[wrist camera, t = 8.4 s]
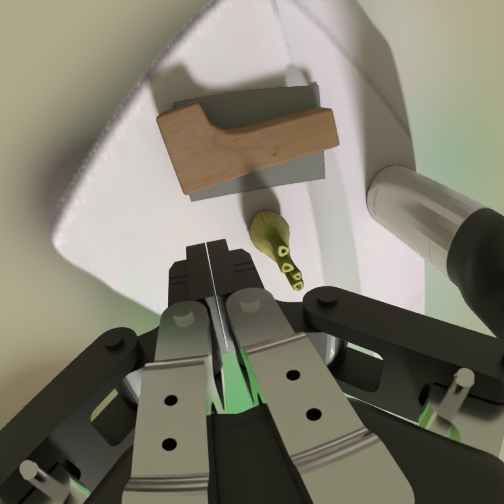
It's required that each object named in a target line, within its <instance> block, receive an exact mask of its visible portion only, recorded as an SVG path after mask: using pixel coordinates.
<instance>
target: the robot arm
mask: <svg viewBox="0 0 504 504" xmlns="http://www.w3.org/2000/svg"><path fill="white" fill-rule="evenodd" d="M367 207H368V210H369V213H370V215H371V217H372V218H373V219H374V220H375V221H376V222H378V223H379V224H380V225H382V226H383V227H384V228H386V229H387V230H388V231H389V232H391V233H392V234H393V235H395V236H396V237H397V238H399V239H400V240H401V241H402V242H404V243H405V244H406V245H408V246H409V247H410V248H411V249H413V250H414V251H415V252H416V253H418V254H419V255H420V256H421V257H423V258H424V259H425V260H426V261H428V262H429V263H430V264H431V265H432V266H434V267H435V268H436V269H437V270H439V271H440V272H441V273H442V274H443V275H445V276H446V277H447V278H448V279H449V280H451V281H452V282H453V283H454V284H455V285H456V286H457V287H458V288H459V290H460V292H461V294H462V296H463V298H464V300H465V302H466V303H467V305H468V306H469V308H470V309H471V310H472V311H473V312H474V313H475V314H476V315H477V316H478V317H479V318H480V320H481V321H482V322H483V323H484V324H485V325H486V326H487V327H488V328H489V329H490V331H491V332H492V333H493V334H494V335H495V336H496V337H497V338H495V337H492V336H489V335H485V334H482V333H479V332H476V331H473V330H469V329H466V328H463V327H460V326H457V325H453V324H450V323H447V322H444V321H441V320H438V319H434V318H431V317H428V316H425V315H422V314H419V313H415V312H412V311H409V310H406V309H403V308H400V307H397V306H393V305H390V304H387V303H384V302H381V301H378V300H375V299H372V298H368V297H365V296H362V295H359V294H356V293H353V292H350V291H347V290H344V289H340V288H337V287H332V286H322V287H317V288H314V289H312V290H310V291H308V292H307V293H306V294H305V295H304V297H303V302H282V301H278V300H276V299H274V297H273V295H272V294H271V293H270V292H269V291H267V290H265V288H264V286H263V284H262V281H261V279H260V277H259V274H258V272H257V270H256V267H255V265H254V263H253V260H252V258H251V256H250V254H249V253H248V252H246V251H245V250H243V249H237V250H232V251H229V249H228V246H227V243H226V240H225V239H221V240H216V241H211V242H206V243H207V248H208V254H209V259H210V265H211V270H212V275H213V280H212V275H211V270H210V265H209V261H208V256H207V251H206V246H205V243H202V244H197V245H192V246H187V247H186V258H187V260H182V261H177V262H174V264H173V265H172V267H171V268H170V269H169V287H168V308H167V309H166V310H165V311H164V312H163V313H162V315H161V318H160V324H159V326H158V327H157V328H155V329H153V330H151V331H149V332H147V333H145V334H142V335H140V336H137V335H136V333H135V332H134V331H133V330H132V329H130V328H126V327H119V328H114V329H111V330H108V331H106V332H105V333H103V334H102V335H101V336H99V337H98V338H97V339H96V340H95V341H94V342H93V343H92V344H91V345H89V346H88V347H87V348H86V349H85V350H84V351H83V352H82V353H81V354H80V355H79V356H78V357H76V358H75V359H74V360H73V361H72V362H71V363H70V364H69V365H68V366H67V367H66V368H65V369H64V370H62V372H60V374H58V375H57V376H56V377H55V378H54V379H53V380H52V381H51V382H50V383H49V384H48V385H47V386H46V387H45V388H43V389H42V391H40V392H39V393H38V394H37V395H36V396H35V397H34V398H33V399H32V400H31V401H30V402H29V403H28V404H27V405H26V406H25V407H24V408H23V409H22V410H21V411H20V412H19V413H18V414H17V415H16V416H15V417H14V418H13V419H12V420H11V421H10V422H9V423H8V424H7V425H6V426H5V427H4V428H3V429H2V430H1V431H0V504H504V463H503V461H501V460H500V459H499V458H498V455H499V452H500V449H501V445H502V441H503V437H504V216H503V215H501V214H499V213H498V212H496V211H494V210H492V209H490V208H489V207H487V206H485V205H483V204H481V203H479V202H477V201H475V200H473V199H471V198H469V197H467V196H465V195H463V194H461V193H459V192H457V191H455V190H453V189H451V188H449V187H447V186H445V185H443V184H441V183H439V182H437V181H434V180H432V179H430V178H428V177H425V176H423V175H421V174H419V173H417V172H415V171H412V170H410V169H408V168H405V167H403V166H399V165H393V166H389V167H386V168H385V169H383V170H382V171H380V172H379V173H378V174H377V175H376V176H375V178H374V179H373V181H372V183H371V185H370V187H369V190H368V194H367ZM213 281H214V284H213ZM214 286H215V289H214ZM215 291H216V294H215ZM216 296H217V299H216ZM217 300H218V304H217ZM218 305H219V309H220V314H221V318H222V323H223V327H224V332H225V336H226V340H227V344H228V349H229V352H234V351H235V352H236V356H237V360H238V364H239V369H240V372H241V375H242V378H243V381H244V383H245V386H246V389H247V392H248V394H249V397H250V399H251V403H252V405H253V408H251V409H249V410H246V411H244V412H242V413H238V414H227V405H226V396H225V384H224V374H223V370H222V365H223V362H222V357H221V354H224V353H227V349H226V344H225V339H224V334H223V329H222V325H221V320H220V315H219V310H218ZM348 342H350V343H352V344H355V345H358V346H360V347H363V348H365V349H368V350H371V351H373V352H376V353H377V354H379V355H380V356H381V357H382V358H383V360H381V359H378V358H376V357H373V356H370V355H368V354H365V353H362V352H360V351H357V350H355V349H352V348H349V347H347V345H348ZM114 388H115V389H116V391H117V392H118V395H117V396H116V397H115V398H114V399H113V400H112V401H111V402H110V403H109V404H108V405H107V406H106V407H105V409H104V410H103V411H102V412H101V413H100V414H99V415H98V416H97V417H96V418H95V419H94V420H93V421H92V422H91V415H92V412H93V411H94V410H95V408H96V407H97V406H98V405H99V404H100V403H101V402H102V401H103V400H104V399H105V398H106V397H107V396H108V395H109V394H110V393H111V391H113V389H114ZM343 392H344V393H346V394H348V395H351V396H353V397H356V398H358V399H360V400H362V401H360V400H356V399H353V398H349V397H346V396H345V395H344V393H343ZM363 401H365V402H367V403H370V404H372V405H374V406H377V407H379V408H381V409H384V410H386V411H389V412H391V413H394V414H396V415H399V416H401V417H404V418H407V419H409V420H412V421H415V422H417V423H419V426H417V425H415V424H413V423H410V422H408V421H405V420H403V419H401V418H399V417H396V416H394V415H392V414H390V413H387V412H385V411H383V410H380V409H378V408H376V407H374V406H372V405H370V404H367V403H365V402H363Z"/></svg>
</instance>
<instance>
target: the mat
mask: <svg viewBox="0 0 504 504" xmlns="http://www.w3.org/2000/svg"><path fill="white" fill-rule="evenodd" d="M192 102H197V103H199V104H200V106H201V107H202V109H203V111H204V113H205V115H206V116H207V118H208V120H209V122H210V123H212V124H214V125H216V126H218V127H220V128H222V129H228V128H240V127H244V126H247V125H250V124H253V123H257V122H260V121H264V120H267V119H271V118H274V117H278V116H281V115H285V114H289V113H292V112H296V111H300V110H304V109H308V108H312V107H321V106H320V95H319V85H315V86H296V87H282V88H270V89H260V90H251V91H243V92H235V93H227V94H220V95H214V96H207V97H201V98H195V99H190V100H184V101H179V102H174V108H178V107H181V106H184V105H187V104H189V103H192ZM319 179H325V164H324V150H323V151H319V152H316V153H313V154H309V155H306V156H303V157H299V158H296V159H293V160H289V161H286V162H283V163H280V164H277V165H274V166H270V167H267V168H264V169H261V170H258V171H255V172H252V173H249V174H246V175H243V176H240V177H237V178H234V179H231V180H228V181H225V182H222V183H220V184H217V185H214V186H211V187H208V188H206V189H203V190H200V191H198V192H195V193H192V194H190V198H191V202H193V201H198V200H203V199H208V198H213V197H218V196H223V195H229V194H234V193H240V192H245V191H251V190H256V189H262V188H268V187H274V186H280V185H286V184H293V183H299V182H305V181H312V180H319Z"/></svg>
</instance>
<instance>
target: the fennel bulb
mask: <svg viewBox="0 0 504 504" xmlns="http://www.w3.org/2000/svg"><path fill="white" fill-rule="evenodd" d="M249 235H250V239H251V241H252V243H253V244H254V246H255V247H256V248H257V249H258V250H259V251H260V252H263V253H265V254H266V255H268V256H269V257H270V258H272V259H273V260H274V261H275V262H276V263H277V264H278V266H279V268H280V270H281V272H283V273H285V275H286V277H287V279H288V281H289V282H290V285H291V286H292V288H293V289H294V290H298V291H300V290H301V289H302V288H303V286H304V284H303V280H302V278H301V277H302V274H301V272H300V270H299V269H298V268H297V267H296V265H295V264H294V263H293V261H292V259H291V257H290V249H289V237H290V232H289V226H288V224H287V222H286V221H285V219H284V218H283V217H282V216H280V215H279V214H277V213H274V212H272V211H266V210H261V211H259V212H258V213H257V214H256V215H255V217H254V219H253V221H252V224H251V227H250V230H249Z"/></svg>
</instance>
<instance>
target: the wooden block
mask: <svg viewBox="0 0 504 504" xmlns="http://www.w3.org/2000/svg"><path fill="white" fill-rule="evenodd" d="M156 121H157V124H158V126H159V129H160V132H161V135H162V137H163V140H164V143H165V146H166V148H167V151H168V154H169V156H170V159H171V162H172V164H173V167H174V170H175V172H176V175H177V178H178V180H179V183H180V186H181V188H182V191H183V193H184V194H185V195H189V194H192V193H195V192H198V191H200V190H203V189H206V188H208V187H211V186H214V185H217V184H220V183H222V182H225V181H228V180H231V179H234V178H237V177H240V176H243V175H246V174H249V173H252V172H255V171H258V170H261V169H264V168H267V167H270V166H274V165H277V164H280V163H283V162H286V161H289V160H293V159H296V158H299V157H303V156H306V155H309V154H313V153H316V152H319V151H323V150H326V149H330V148H333V147H337V146H338V145H339V138H338V134H337V129H336V124H335V120H334V115H333V111H332V110H331V109H329V108H322V107H312V108H308V109H304V110H300V111H296V112H292V113H289V114H285V115H281V116H278V117H274V118H271V119H267V120H264V121H260V122H257V123H253V124H250V125H247V126H244V127H240V128H228V129H222V128H220V127H218V126H216V125H214V124H212V123H210V122H209V120H208V118H207V116H206V115H205V113H204V111H203V109H202V107H201V106H200V104H199V103H197V102H192V103H189V104H187V105H184V106H181V107H178V108H175V109H173V110H170V111H167V112H165V113H162V114H160V115H159V116H158V117H157V119H156Z"/></svg>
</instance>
